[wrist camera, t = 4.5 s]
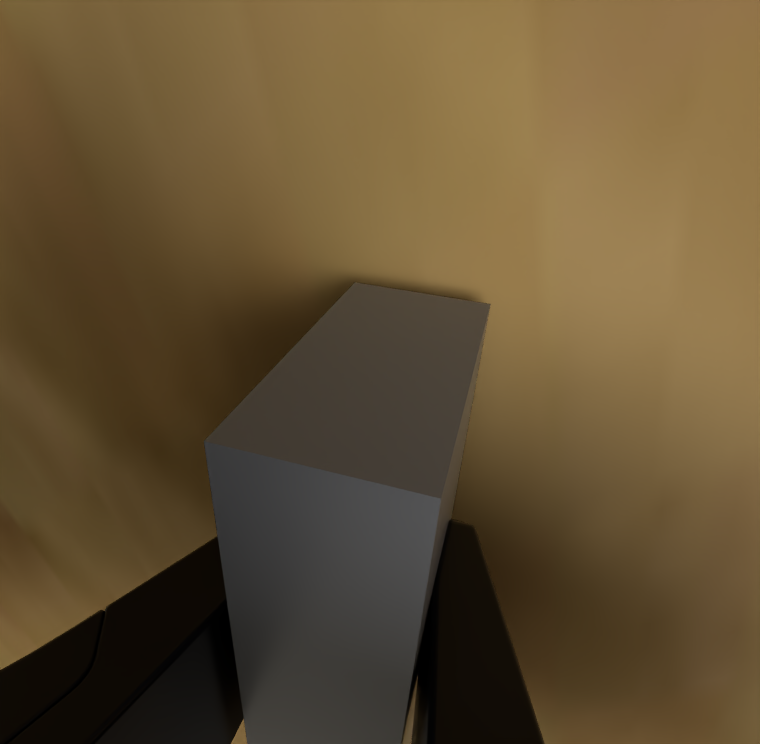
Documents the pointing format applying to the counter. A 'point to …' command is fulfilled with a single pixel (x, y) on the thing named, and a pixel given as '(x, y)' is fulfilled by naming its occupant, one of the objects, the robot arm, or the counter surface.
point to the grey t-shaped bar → (343, 513)
